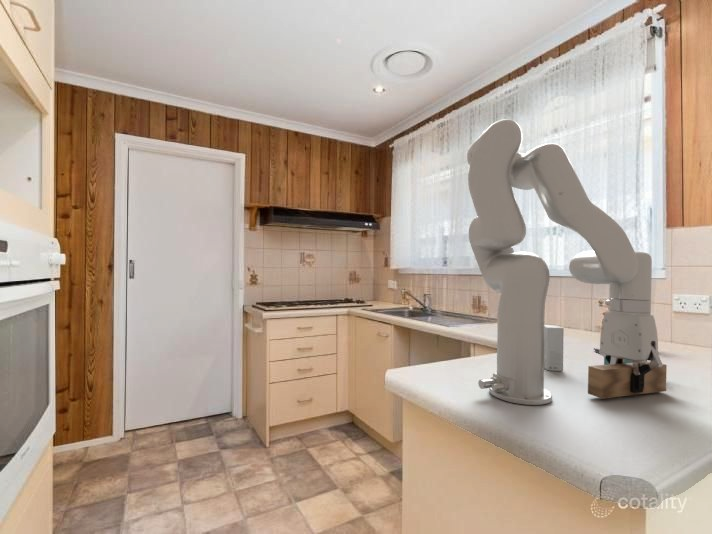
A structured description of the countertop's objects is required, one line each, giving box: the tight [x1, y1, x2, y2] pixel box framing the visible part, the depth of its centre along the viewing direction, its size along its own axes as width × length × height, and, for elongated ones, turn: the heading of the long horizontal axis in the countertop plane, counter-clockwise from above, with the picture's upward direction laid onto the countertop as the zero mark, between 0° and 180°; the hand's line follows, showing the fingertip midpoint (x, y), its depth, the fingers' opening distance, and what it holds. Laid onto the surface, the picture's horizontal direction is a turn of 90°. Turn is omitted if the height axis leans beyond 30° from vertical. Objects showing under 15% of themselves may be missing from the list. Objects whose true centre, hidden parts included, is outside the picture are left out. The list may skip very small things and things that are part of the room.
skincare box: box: [544, 324, 565, 372], centre depth 105 cm, size 6×4×12 cm
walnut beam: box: [587, 360, 667, 399], centre depth 82 cm, size 20×3×6 cm, turn 109°
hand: (627, 388), depth 82 cm, fingers closed on walnut beam, 3 cm apart
